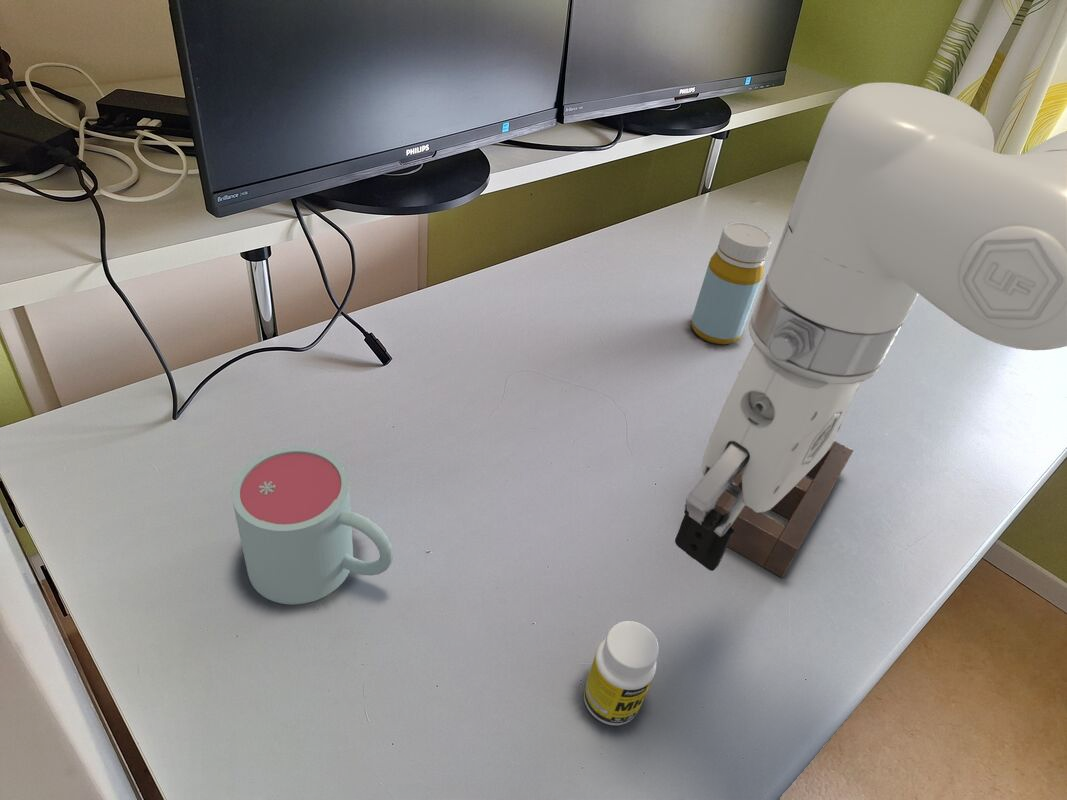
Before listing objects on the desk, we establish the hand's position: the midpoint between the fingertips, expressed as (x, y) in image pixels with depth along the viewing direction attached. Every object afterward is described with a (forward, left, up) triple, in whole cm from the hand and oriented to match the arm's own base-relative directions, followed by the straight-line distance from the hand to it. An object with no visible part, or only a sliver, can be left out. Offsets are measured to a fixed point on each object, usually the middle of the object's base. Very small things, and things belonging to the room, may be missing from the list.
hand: (733, 518), depth 54 cm
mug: (+29, +13, -19) cm, 37 cm away
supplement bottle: (+2, +7, -19) cm, 20 cm away
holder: (0, -23, -19) cm, 30 cm away
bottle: (+18, -48, -19) cm, 55 cm away
